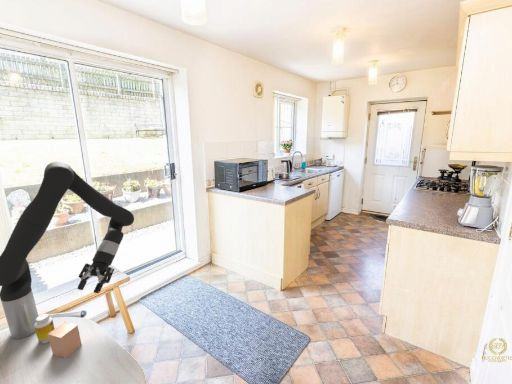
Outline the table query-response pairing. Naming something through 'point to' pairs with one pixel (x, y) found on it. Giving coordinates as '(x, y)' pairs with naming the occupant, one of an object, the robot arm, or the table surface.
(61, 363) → the table surface
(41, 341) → the supplement bottle
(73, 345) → the salmon orange block
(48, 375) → the table surface
